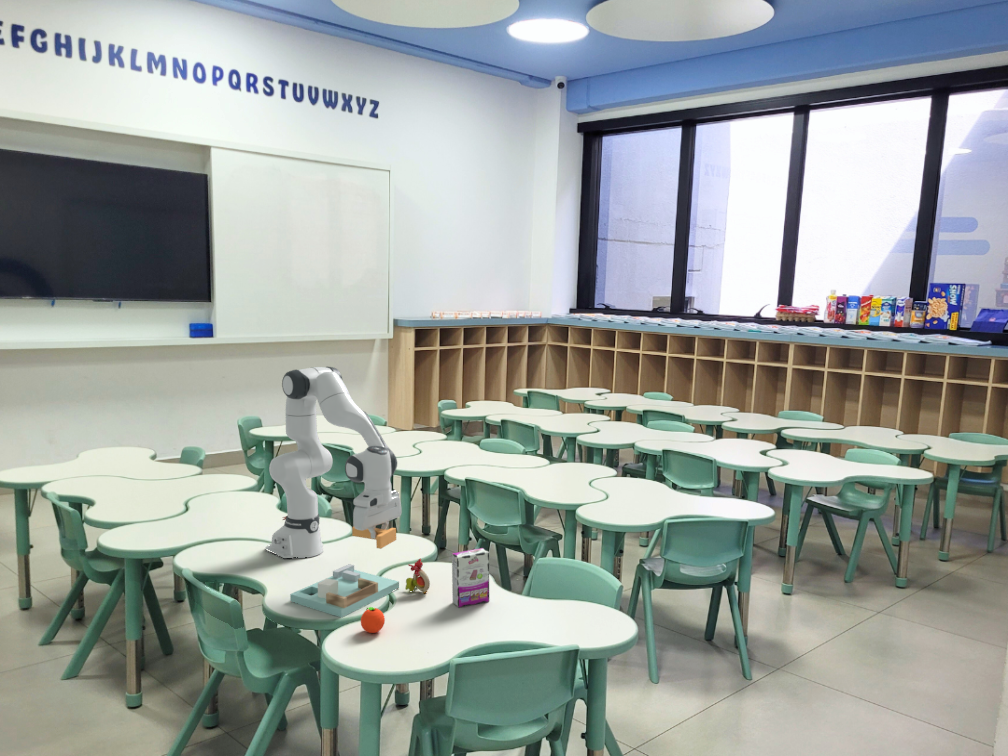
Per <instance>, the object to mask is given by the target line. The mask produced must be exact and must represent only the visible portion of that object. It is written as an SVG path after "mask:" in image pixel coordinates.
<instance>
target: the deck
mask: <svg viewBox="0 0 1008 756" xmlns="http://www.w3.org/2000/svg"><path fill="white" fill-rule="evenodd" d="M354 572H356V573H359V574H360V578H362V579H366V580H370V581H374V582H377V583H378V592H377V593H375V594H372V595H370V596H368V597H366V598H364V599H362V600H360V601H358V602H356V603H354V604H352V605H350V606H348V607H346V608H342V607H338V606H335V605H332V604H328V603H326V599H325V598H320V597H318V583H319V582H321V581H323V580H324V579H322V580H319V581H317V582H315V583H312V584H310V585H308V586H306V587H304V588H302V589H299V590H296V591H294V592H292V593H290V595H289V597H290V598H289V600H290V601H292V602H291V603H293V602H295V603H294V604H297V603H298V604H297V605H299V606H304V607H307V608H309V607H310V609H312V610H317V611H320V612H322V613H325V614H329V615H332V616H335V617H338V618H341V617H342V618H343V616H344V617H346V616H347V615H350V614H352V613H354V612H356V611H358V610H359V609H361V608H363V607H366V606H367V605H369V604H372V603H374V602H376V601H377V600H379V599H381V598H384V597H386V596H388V595H390V594H392V593H393V592H392V591H393V590H395V589H397V588H399V589H400V581H398V580H395V579H392V578H388V577H383V576H381V575H376V574H372V573H368V572H364V571H361V570H357V569H354ZM326 578H327V579H332V580H338V595H340V596H343V597H346V596H348V595H350V594H352V593H354V592H356V591H359V590H361V589H360V588H358V581H357V582H353V581H350V580H346V579H342V577H340V578H338V579H337V578H333V575H332V576H329V577H326ZM391 592H392V593H391Z"/></svg>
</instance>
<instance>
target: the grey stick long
mask: <svg viewBox="0 0 1008 756" xmlns="http://www.w3.org/2000/svg"><path fill="white" fill-rule="evenodd" d="M359 578H360V574H359V573H356V572H352V571H348V570H346V571H344V572H342V579H346V580H350V581H353V582H357V581H358V579H359Z"/></svg>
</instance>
